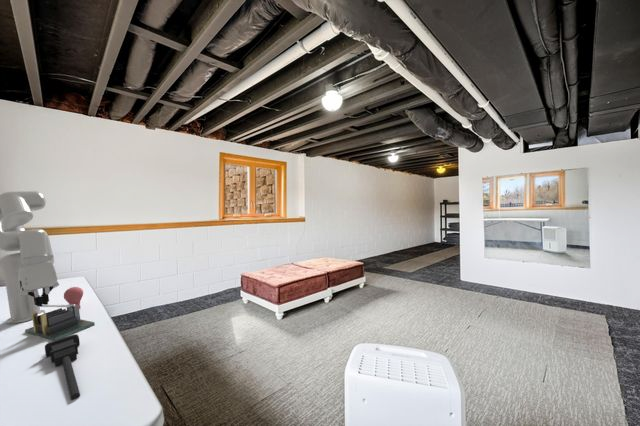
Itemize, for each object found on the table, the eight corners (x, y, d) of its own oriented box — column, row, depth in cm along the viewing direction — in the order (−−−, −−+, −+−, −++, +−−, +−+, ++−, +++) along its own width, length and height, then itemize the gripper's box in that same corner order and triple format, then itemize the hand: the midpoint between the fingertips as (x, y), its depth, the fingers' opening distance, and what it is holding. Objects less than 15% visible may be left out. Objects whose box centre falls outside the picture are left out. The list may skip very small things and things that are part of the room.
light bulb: (73, 314, 128) (70, 289, 127) (62, 313, 129) (58, 289, 128) (89, 307, 135) (86, 284, 134) (78, 307, 136) (75, 284, 135)
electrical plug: (78, 341, 100) (76, 328, 100) (98, 395, 73) (95, 378, 72) (45, 352, 94) (43, 339, 93) (53, 416, 66) (51, 397, 66)
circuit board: (25, 332, 111) (22, 311, 111) (64, 318, 123) (61, 299, 122) (55, 340, 102) (51, 317, 101) (94, 324, 114) (91, 304, 113)
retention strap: (37, 307, 107) (39, 303, 108) (72, 307, 118) (73, 304, 118) (41, 308, 106) (42, 304, 107) (75, 308, 116) (77, 304, 117)
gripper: (56, 256, 115) (62, 297, 116) (3, 265, 101) (10, 312, 102) (65, 256, 112) (71, 298, 113) (11, 266, 98) (19, 314, 99)
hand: (42, 304), depth 107 cm, fingers closed
